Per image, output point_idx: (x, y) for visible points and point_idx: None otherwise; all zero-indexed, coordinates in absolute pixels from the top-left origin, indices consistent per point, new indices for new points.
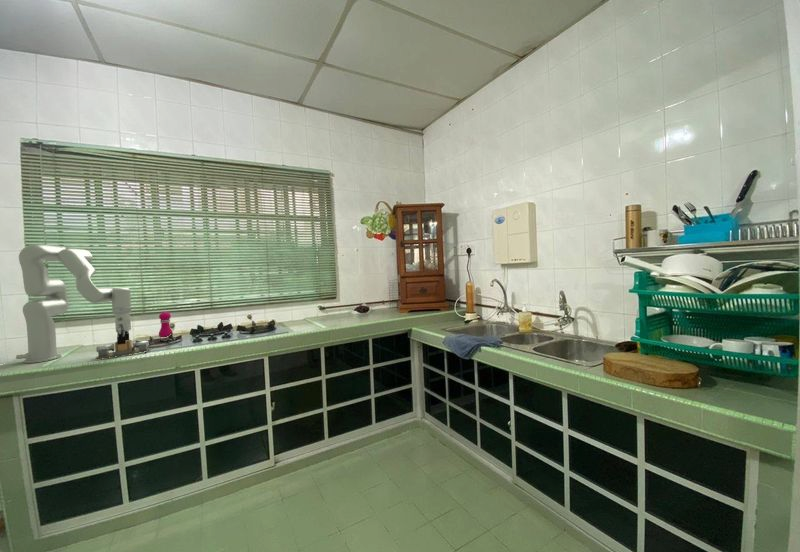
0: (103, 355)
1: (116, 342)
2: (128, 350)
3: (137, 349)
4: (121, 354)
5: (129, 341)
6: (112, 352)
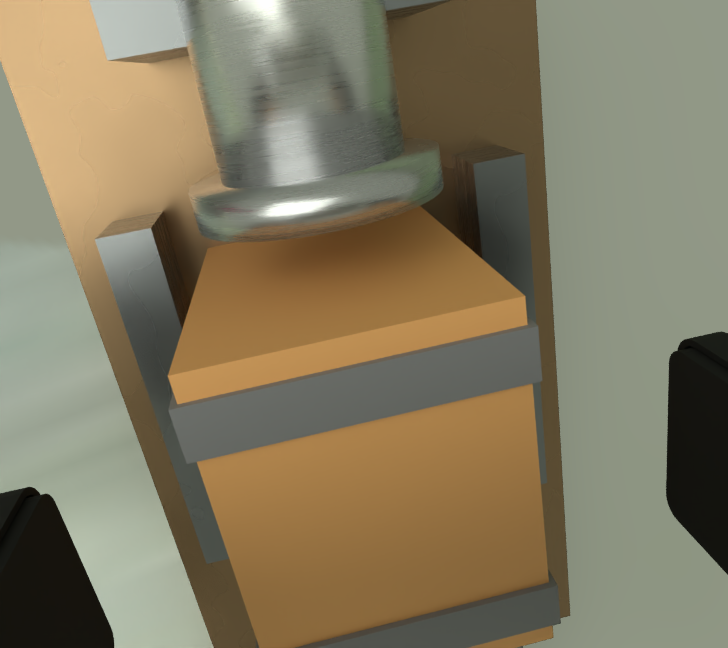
0: None
1: (543, 616)
2: (525, 223)
3: (137, 144)
4: (551, 311)
5: (518, 304)
6: (231, 565)
